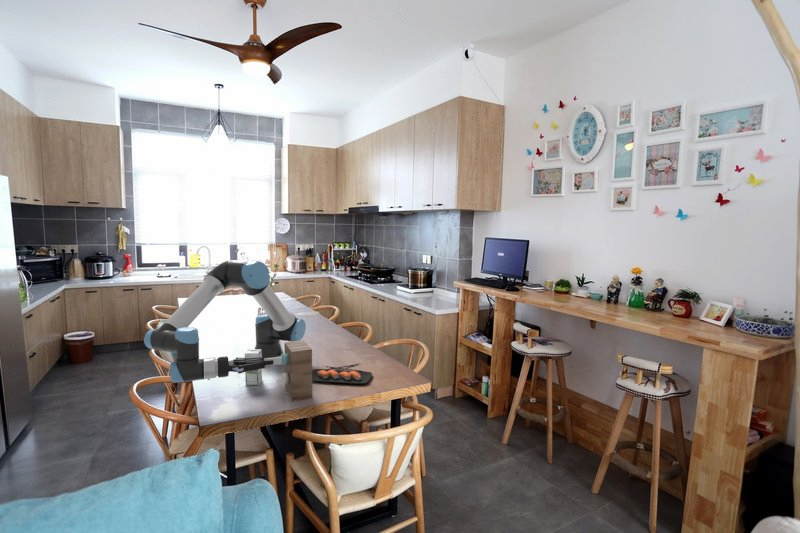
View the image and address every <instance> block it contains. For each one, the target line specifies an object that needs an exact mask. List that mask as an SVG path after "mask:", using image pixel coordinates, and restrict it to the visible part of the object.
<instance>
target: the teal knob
mask: <svg viewBox="0 0 800 533" xmlns="http://www.w3.org/2000/svg"><path fill="white" fill-rule="evenodd" d="M281 357H282V364H281V367H282V366H284V367H285V365H289V355H288V353H286V354H285V353H283V354H281Z"/></svg>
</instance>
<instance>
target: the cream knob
mask: <svg viewBox="0 0 800 533" xmlns="http://www.w3.org/2000/svg"><path fill="white" fill-rule="evenodd" d="M280 383H281V386H285V385H286V384H289V375H288V373H285V372H281V373H280Z"/></svg>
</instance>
